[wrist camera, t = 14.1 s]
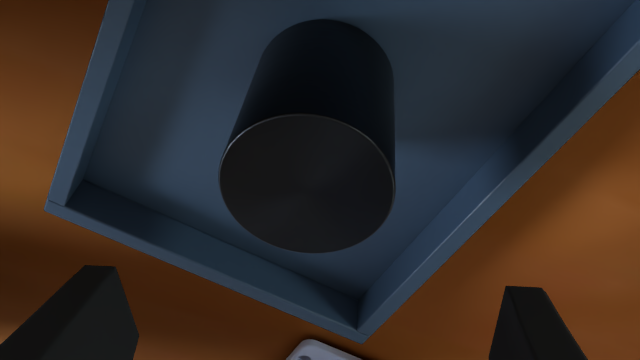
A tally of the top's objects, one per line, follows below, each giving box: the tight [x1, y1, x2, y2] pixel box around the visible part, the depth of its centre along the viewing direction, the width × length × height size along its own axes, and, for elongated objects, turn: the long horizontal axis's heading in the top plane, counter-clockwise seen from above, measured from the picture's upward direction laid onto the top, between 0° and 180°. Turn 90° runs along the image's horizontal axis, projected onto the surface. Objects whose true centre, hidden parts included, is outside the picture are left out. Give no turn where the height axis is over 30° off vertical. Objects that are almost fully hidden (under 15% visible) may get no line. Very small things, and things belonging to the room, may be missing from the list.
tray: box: [44, 0, 640, 344], centre depth 17 cm, size 16×12×2 cm
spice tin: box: [218, 19, 396, 254], centre depth 15 cm, size 4×4×5 cm
